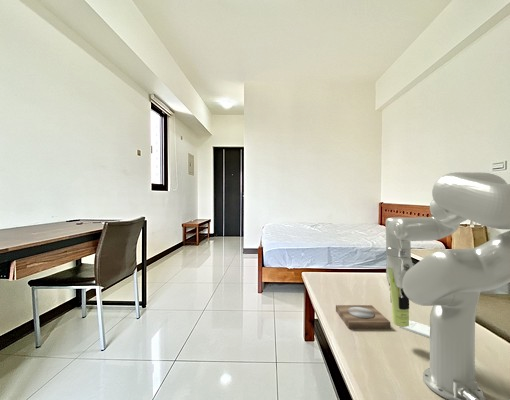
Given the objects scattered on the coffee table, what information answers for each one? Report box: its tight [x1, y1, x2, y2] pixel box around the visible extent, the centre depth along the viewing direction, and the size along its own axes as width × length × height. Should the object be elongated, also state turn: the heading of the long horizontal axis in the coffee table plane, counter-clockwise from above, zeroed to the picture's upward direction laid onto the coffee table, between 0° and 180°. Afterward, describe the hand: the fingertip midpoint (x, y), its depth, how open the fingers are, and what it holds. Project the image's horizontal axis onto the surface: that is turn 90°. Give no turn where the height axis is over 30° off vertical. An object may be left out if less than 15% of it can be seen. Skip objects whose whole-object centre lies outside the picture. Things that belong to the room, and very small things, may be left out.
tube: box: [388, 268, 410, 327], centre depth 90 cm, size 6×5×20 cm
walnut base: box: [335, 304, 391, 330], centre depth 108 cm, size 16×16×3 cm
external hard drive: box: [398, 319, 430, 339], centre depth 98 cm, size 2×8×12 cm
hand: (399, 305), depth 90 cm, fingers closed on tube, 4 cm apart
